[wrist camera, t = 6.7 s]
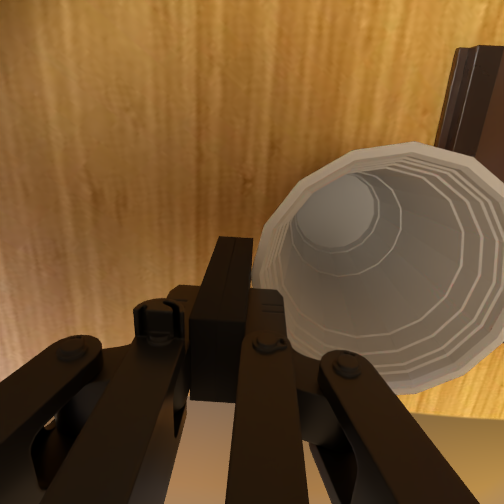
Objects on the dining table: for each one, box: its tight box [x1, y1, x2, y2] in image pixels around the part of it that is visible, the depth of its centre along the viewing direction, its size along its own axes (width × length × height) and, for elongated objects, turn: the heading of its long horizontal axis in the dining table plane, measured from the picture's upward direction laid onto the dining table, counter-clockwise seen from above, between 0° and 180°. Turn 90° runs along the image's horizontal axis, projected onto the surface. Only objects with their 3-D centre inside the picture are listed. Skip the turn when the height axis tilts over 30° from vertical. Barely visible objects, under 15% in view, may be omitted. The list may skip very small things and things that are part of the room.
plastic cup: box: [251, 141, 504, 395], centre depth 19 cm, size 11×11×12 cm
